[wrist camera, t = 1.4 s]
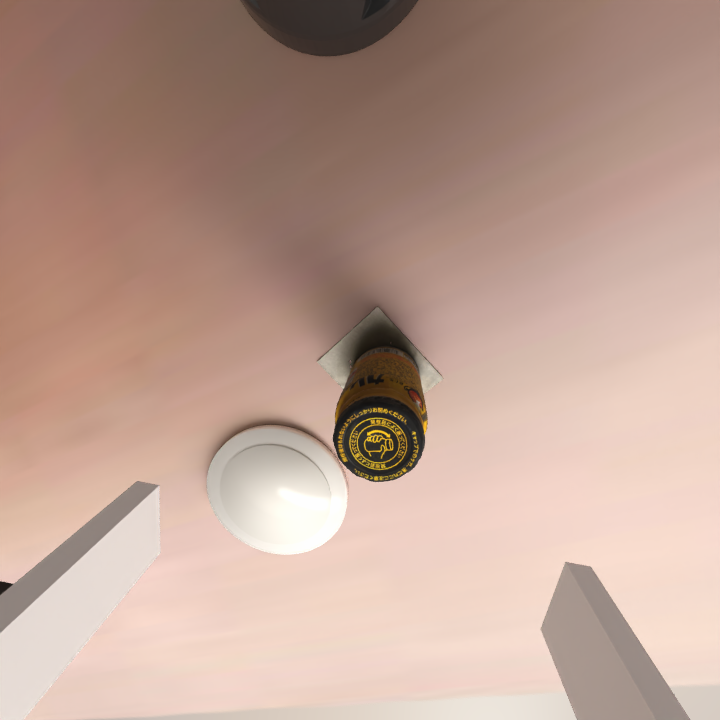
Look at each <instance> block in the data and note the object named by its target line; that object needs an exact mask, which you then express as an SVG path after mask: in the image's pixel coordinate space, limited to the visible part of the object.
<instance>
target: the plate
mask: <svg viewBox="0 0 720 720" xmlns="http://www.w3.org/2000/svg"><path fill="white" fill-rule="evenodd" d="M207 493H208V498H209V501H210V504H211V507H212V509H213V511H214V513H215V515H216V516H217V518H218V519H219V521H220V522H221V523H222V525H223V526H224V527H225V528H226V529H227V530H228V531H229V532H230V533H231V534H232V535H233V536H235V537H236V538H237V539H239V540H240V541H242V542H244V543H245V544H247V545H249V546H251V547H253V548H256V549H258V550H261V551H265V552H269V553H274V554H287V555H288V554H298V553H303V552H307V551H310V550H313V549H315V548H317V547H319V546H321V545H322V544H324V543H325V542H327V541H328V540H329V539H330V538H331V537H332V536H333V535H334V534H335V533H336V532H337V530H338V529H339V527H340V525H341V524H342V521H343V519H344V516H345V512H346V508H347V503H348V485H347V480H346V476H345V474H344V471H343V469H342V467H341V465H340V463H339V461H338V460H337V459H336V457H335V456H334V454H333V453H332V452H331V451H330V450H329V449H328V448H327V447H326V446H325V445H324V444H322V443H321V442H320V441H319V440H317V439H316V438H314V437H313V436H311V435H309V434H307V433H305V432H303V431H300V430H298V429H295V428H291V427H287V426H280V425H262V426H256V427H252V428H248V429H246V430H244V431H241V432H239V433H238V434H236V435H235V436H233V437H232V438H231V439H229V440H228V441H227V442H226V443H225V444H224V445H223V446H222V447H221V448H220V450H219V451H218V452H217V453H216V455H215V456H214V458H213V459H212V462H211V464H210V466H209V470H208V474H207Z"/></svg>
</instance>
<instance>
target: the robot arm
mask: <svg viewBox="0 0 720 720" xmlns="http://www.w3.org/2000/svg"><path fill="white" fill-rule="evenodd" d="M417 1H418V0H241V2H242V3H243V5H244V7H245V8H246V10H247V11H248V13H249V14H250V15H251V16H252V18H253V19H254V20H255V21H256V22H257V23H258V25H259V26H260V27H261V28H262V29H263V30H264V31H266V32H267V33H268V34H269V35H270V36H272V37H273V38H274V39H276V40H277V41H279V42H280V43H282V44H284V45H286V46H287V47H290V48H292V49H294V50H297V51H299V52H302V53H306V54H311V55H317V56H337V55H343V54H348V53H352V52H355V51H358V50H361V49H363V48H365V47H367V46H369V45H371V44H373V43H375V42H377V41H378V40H380V39H381V38H383V37H384V36H385V35H387V34H388V33H389V32H390V31H392V30H393V29H394V28H395V27H396V26H397V25H398V24H399V23H400V22H401V21H402V20H403V19H404V18H405V17H406V16H407V14H408V13H409V12H410V11H411V9H412V8H413V7H414V5H415V4H416V2H417ZM159 554H160V495H159V485H155V484H150V483H145V482H139V481H137V482H136V483H134V484H133V485H132V486H131V487H130V488H128V489H127V490H126V491H125V492H124V493H122V494H121V495H120V496H119V497H118V498H116V499H115V500H114V501H113V502H112V503H110V504H109V505H108V506H107V507H106V508H104V509H103V510H102V511H101V512H100V513H98V514H97V515H96V516H95V517H94V518H92V519H91V520H90V521H89V522H88V523H86V524H85V525H84V526H83V527H82V528H80V529H79V530H78V531H77V532H76V533H74V534H73V535H72V536H71V537H70V538H68V539H67V540H66V541H65V542H64V543H62V544H61V545H60V546H59V547H58V548H56V549H55V550H54V551H53V552H52V553H50V554H49V555H48V556H47V557H46V558H44V559H43V560H42V561H41V562H40V563H38V564H37V565H36V566H35V567H34V568H32V569H31V570H30V571H29V572H28V573H26V574H25V575H24V576H23V577H22V578H20V579H19V580H18V581H17V582H16V583H14V584H11V583H6V582H1V581H0V720H24V719H25V718H26V716H27V715H28V714H29V713H30V711H31V710H32V709H33V708H34V707H35V705H36V704H37V703H38V702H39V700H40V699H41V698H42V697H43V696H44V694H45V693H46V692H47V691H48V689H49V688H50V687H51V686H52V685H53V683H54V682H55V681H56V680H57V678H58V677H59V676H60V675H61V674H62V672H63V671H64V670H65V669H66V667H67V666H68V665H69V664H70V663H71V661H72V660H73V659H74V658H75V657H76V655H77V654H78V653H79V652H80V650H81V649H82V648H83V647H84V646H85V644H86V643H87V642H88V641H89V639H90V638H91V637H92V636H93V635H94V633H95V632H96V631H97V630H98V628H99V627H100V626H101V625H102V624H103V622H104V621H105V620H106V619H107V617H108V616H109V615H110V614H111V613H112V611H113V610H114V609H115V608H116V606H117V605H118V604H119V603H120V602H121V600H122V599H123V598H124V597H125V595H126V594H127V593H128V592H129V591H130V589H131V588H132V587H133V586H134V584H135V583H136V582H137V581H138V580H139V578H140V577H141V576H142V575H143V573H144V572H145V571H146V570H147V569H148V567H149V566H150V565H151V564H152V562H153V561H154V560H155V559H156V558H157V556H158V555H159ZM541 631H542V633H543V636H544V638H545V641H546V643H547V646H548V648H549V651H550V653H551V656H552V658H553V661H554V663H555V666H556V668H557V671H558V673H559V676H560V678H561V681H562V683H563V686H564V688H565V691H566V693H567V696H568V698H569V701H570V703H571V706H572V708H573V711H574V713H575V716H576V718H577V720H690V718H689V717H688V715H687V714H686V712H685V711H684V709H683V708H682V706H681V705H680V703H679V702H678V700H677V698H676V697H675V695H674V694H673V692H672V691H671V689H670V688H669V686H668V685H667V683H666V682H665V680H664V678H663V677H662V675H661V674H660V672H659V671H658V669H657V668H656V666H655V665H654V663H653V662H652V660H651V658H650V657H649V655H648V654H647V652H646V651H645V649H644V648H643V646H642V645H641V643H640V642H639V640H638V638H637V637H636V635H635V634H634V632H633V631H632V629H631V628H630V626H629V625H628V623H627V622H626V620H625V618H624V617H623V615H622V614H621V612H620V611H619V609H618V608H617V606H616V605H615V603H614V602H613V600H612V598H611V597H610V595H609V594H608V592H607V591H606V589H605V588H604V586H603V585H602V583H601V582H600V580H599V578H598V577H597V575H596V574H595V572H594V571H593V569H592V568H591V567H590V566H584V565H579V564H574V563H569V562H565V565H564V567H563V570H562V573H561V575H560V578H559V581H558V584H557V586H556V589H555V592H554V594H553V597H552V600H551V602H550V605H549V608H548V611H547V613H546V616H545V619H544V621H543V624H542V627H541Z"/></svg>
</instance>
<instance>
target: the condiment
mask: <svg viewBox="0 0 720 720" xmlns="http://www.w3.org/2000/svg"><path fill="white" fill-rule="evenodd" d="M390 342H391V344H390ZM350 360H351V364H350V363H349V361H350ZM318 363H319V364H320V365H321V367H322V368H323V369H324V370H325V371H326V372H327V373H328V374H329V375H330V376H331V377H332V378H333V379H334V380H335V381H336V382H337V383H338V384H339V385H340V386H341V387H342V388H343V392H342V393H341V396H340V398H339V401H338V403H337V408H336V413H335V424H336V425H335V429H334V434H333V442H334V446H335V449H336V452H337V455H338V458H339V459H340V461H341V462H342V463H343V464H344V465H345V466H346V468H347V469H349V470H350V471H351V472H352V473H353V474H355V475H356V476H358V477H362V478H365V479H367V480H369V481H373V482H384V481H390V480H395V479H397V478H399V477H401V476H403V475H404V474H406V473H408V472H409V471H411V470H412V469H413V468H414V467H415V466H416V464H417V463H418V460H419V459H420V458H421V456H422V452H423V449H424V445H425V432H426V430H427V420H428V419H427V411H426V405H425V400H424V395H423V394H425V393H426V392H427V391H429V390H430V389H431V388H433V387H434V386H435V385H436V384H438V383H439V382H440V381H441V380H443V378H442V377H441V375H440V374H439V373H438V372H437V371H436V370H435V369H434V368H433V367H432V365H431V364H430V363H429V362H428V361H427V360H426V359H425V358H424V357H423V356H422V354H421V353H420V352H419V351H418V350H417V349H416V348H415V347H414V346H413V345H412V344H411V342H410V341H409V340H408V339H407V338H406V337H405V336H404V335H403V334H402V333H401V332H400V330H399V329H398V328H397V327H396V326H395V325H394V324H393V323H392V322H391V321H390V320H389V319H388V318H387V316H386V315H385V314H384V313H383V312H382V311H381V310H380V309H379V308H378V307H376V308H375V309H374V310H373V311H372V312H371V313H370V314H369V315H368V316H367V317H365V318H364V319H363V320H362V321H361V322H360V323H359V324H358V325H357V326H355V327H354V328H353V329H352V330H351V331H350V332H349V333H348V334H347V335H346V336H345V337H344V338H342V340H340V341H339V342H338V343H337V344H336V345H335V346H334V347H333V348H332V349H331V350H329V351H328V352H327V353H326V354H325V355H324V356H323V357H322V358H321V359H320V360H319V361H318ZM350 366H352V368H350Z"/></svg>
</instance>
